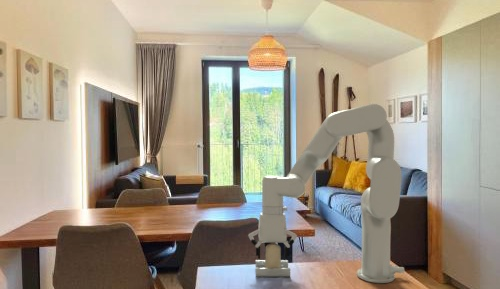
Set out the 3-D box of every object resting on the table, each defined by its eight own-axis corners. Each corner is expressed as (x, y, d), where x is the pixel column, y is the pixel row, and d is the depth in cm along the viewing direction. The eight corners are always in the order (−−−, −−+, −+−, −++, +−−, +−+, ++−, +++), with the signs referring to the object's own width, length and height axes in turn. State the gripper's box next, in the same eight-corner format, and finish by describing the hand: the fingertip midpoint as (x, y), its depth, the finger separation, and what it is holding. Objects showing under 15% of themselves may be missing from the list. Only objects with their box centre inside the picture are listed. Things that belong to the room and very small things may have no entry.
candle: (279, 274, 133) (279, 246, 133) (264, 273, 134) (264, 245, 134) (281, 269, 138) (281, 242, 138) (266, 268, 139) (266, 241, 139)
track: (287, 268, 140) (287, 260, 140) (290, 277, 131) (290, 268, 131) (255, 268, 141) (255, 260, 141) (255, 277, 132) (255, 268, 132)
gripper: (295, 208, 139) (295, 254, 140) (248, 208, 139) (248, 254, 140) (298, 212, 132) (297, 261, 132) (248, 212, 132) (248, 261, 132)
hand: (272, 257), depth 136 cm, fingers open, 9 cm apart
